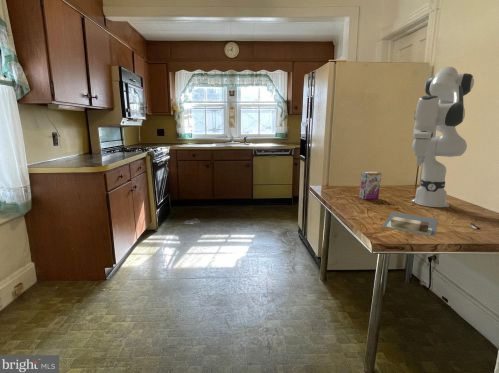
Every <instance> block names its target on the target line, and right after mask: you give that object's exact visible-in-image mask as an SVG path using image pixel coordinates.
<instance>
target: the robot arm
mask: <svg viewBox="0 0 499 373" xmlns="http://www.w3.org/2000/svg"><path fill="white" fill-rule="evenodd" d="M474 85H475V80H474V75H472V74H471V73H466V72H464V73H458V70H457V69H456V68H455V67H453V66H445V67H442V68H440V69H439V70H438V71H437V73H436V74H435V75H432V76H430V77H429V78H428V79H427V80H426V82H425V83H424V90H425V91H424V92H425V94H426V95H424V96H421V97H419V98H418V101H417V103H416V104H417V105H416V108H415V110H414V125H413V131H412V138H413V140H412V144H411V149H412V151H413V152H414V156H416V166H418V167H420V166H422V174H421V175H422V176H421V178H420V182H419V183H420V186H419V187H417V188H416V192H415V196H414V197H415V198H413V199H411V200H410V202H411V203H415V204H417V205H420V206H424V207H431V208H449V207H450V204H449V203H448V202H447V193H448V192H447V191H446V189H445V187H446V175H447V166H445V165H444V164H443V163H441V162H440V161H438V160H437V158H436V157H449V158H453V157H461V156H462V155H464V153H465V152H466V151H467V147H468V145H467V141H466V140H465V139H464V138H463V136H461V135H460V134H459V133H458V131H457V129H456V127H458V126H459V125H461V124H462V123H463V121H464V120H465V117H466V109H465V107H464V106H465V104H464V97H465V96H466V95H467V94H469V93H470V92H471V91H472V89H473V88H474ZM437 132H440V133H441V135H436V133H437Z"/></svg>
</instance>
